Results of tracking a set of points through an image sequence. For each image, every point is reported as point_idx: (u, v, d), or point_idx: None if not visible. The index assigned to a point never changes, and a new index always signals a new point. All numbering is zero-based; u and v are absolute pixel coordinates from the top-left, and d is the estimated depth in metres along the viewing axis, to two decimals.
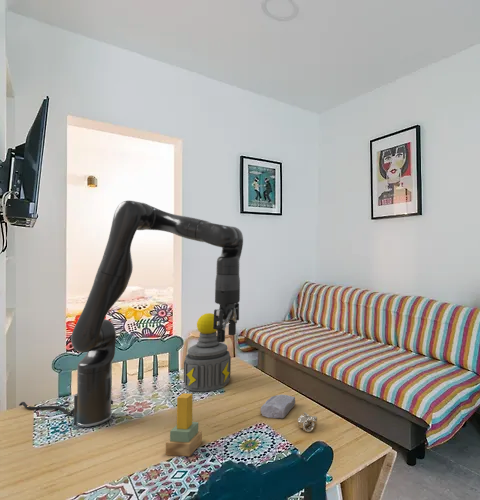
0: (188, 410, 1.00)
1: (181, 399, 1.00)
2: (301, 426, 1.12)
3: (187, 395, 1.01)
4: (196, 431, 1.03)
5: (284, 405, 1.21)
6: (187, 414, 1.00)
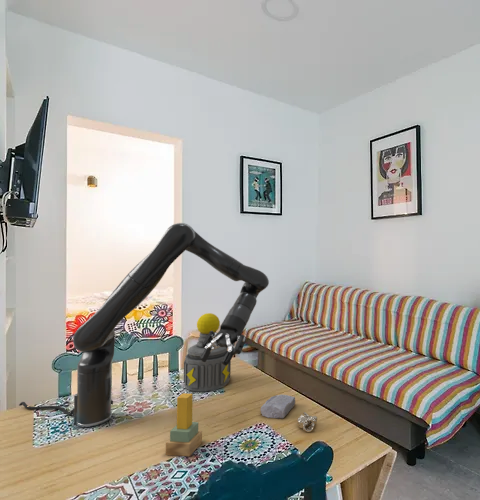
0: (188, 410, 1.00)
1: (181, 399, 1.00)
2: (301, 426, 1.12)
3: (187, 395, 1.01)
4: (196, 431, 1.03)
5: (284, 405, 1.21)
6: (187, 414, 1.00)
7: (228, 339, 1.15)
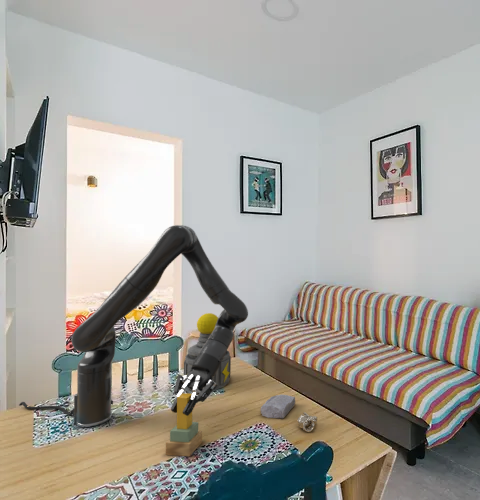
0: None
1: (181, 399, 1.00)
2: (301, 426, 1.12)
3: (187, 395, 1.01)
4: (196, 431, 1.03)
5: (284, 405, 1.21)
6: None
7: (197, 382, 1.03)
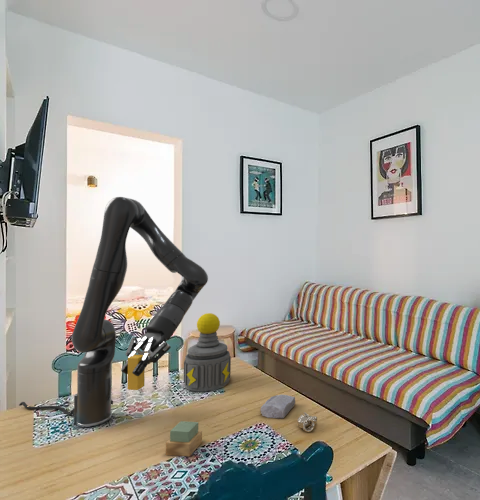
0: None
1: (131, 359, 0.98)
2: (301, 426, 1.12)
3: (138, 356, 0.99)
4: (196, 431, 1.03)
5: (284, 405, 1.21)
6: None
7: (149, 343, 1.01)
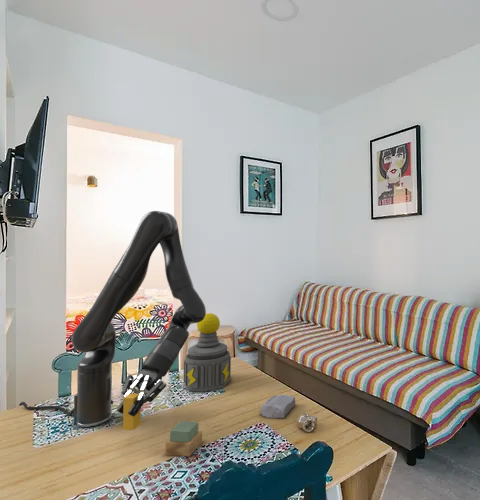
0: None
1: (127, 399, 0.98)
2: (301, 426, 1.12)
3: (134, 395, 0.99)
4: (196, 431, 1.03)
5: (284, 405, 1.21)
6: None
7: (145, 382, 1.01)
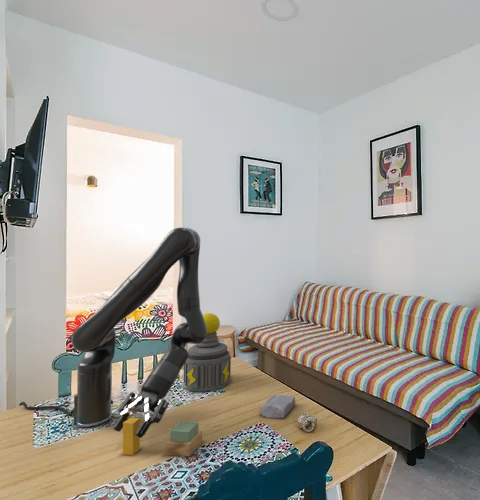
0: (134, 435, 0.98)
1: (127, 424, 0.98)
2: (301, 426, 1.12)
3: (134, 420, 0.99)
4: (196, 431, 1.03)
5: (284, 405, 1.21)
6: (133, 439, 0.98)
7: (147, 404, 1.01)
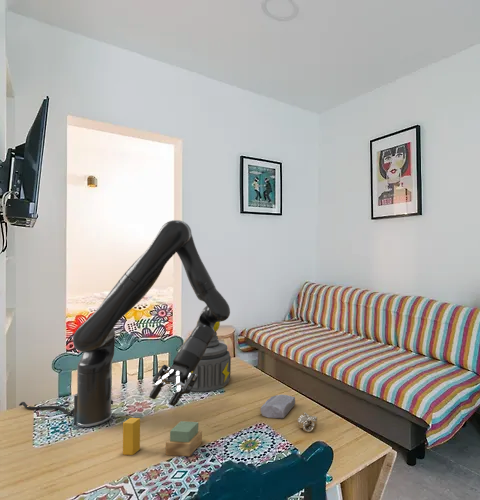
0: (134, 435, 0.98)
1: (127, 424, 0.98)
2: (301, 426, 1.12)
3: (134, 420, 0.99)
4: (196, 431, 1.03)
5: (284, 405, 1.21)
6: (133, 439, 0.98)
7: (178, 376, 1.11)
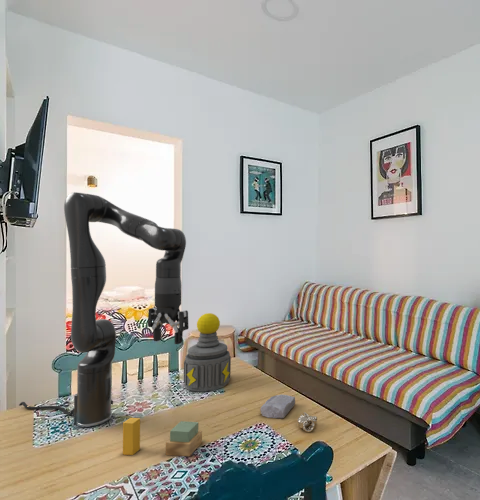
0: (134, 435, 0.98)
1: (127, 424, 0.98)
2: (301, 426, 1.12)
3: (134, 420, 0.99)
4: (196, 431, 1.03)
5: (284, 405, 1.21)
6: (133, 439, 0.98)
7: (169, 319, 1.08)
